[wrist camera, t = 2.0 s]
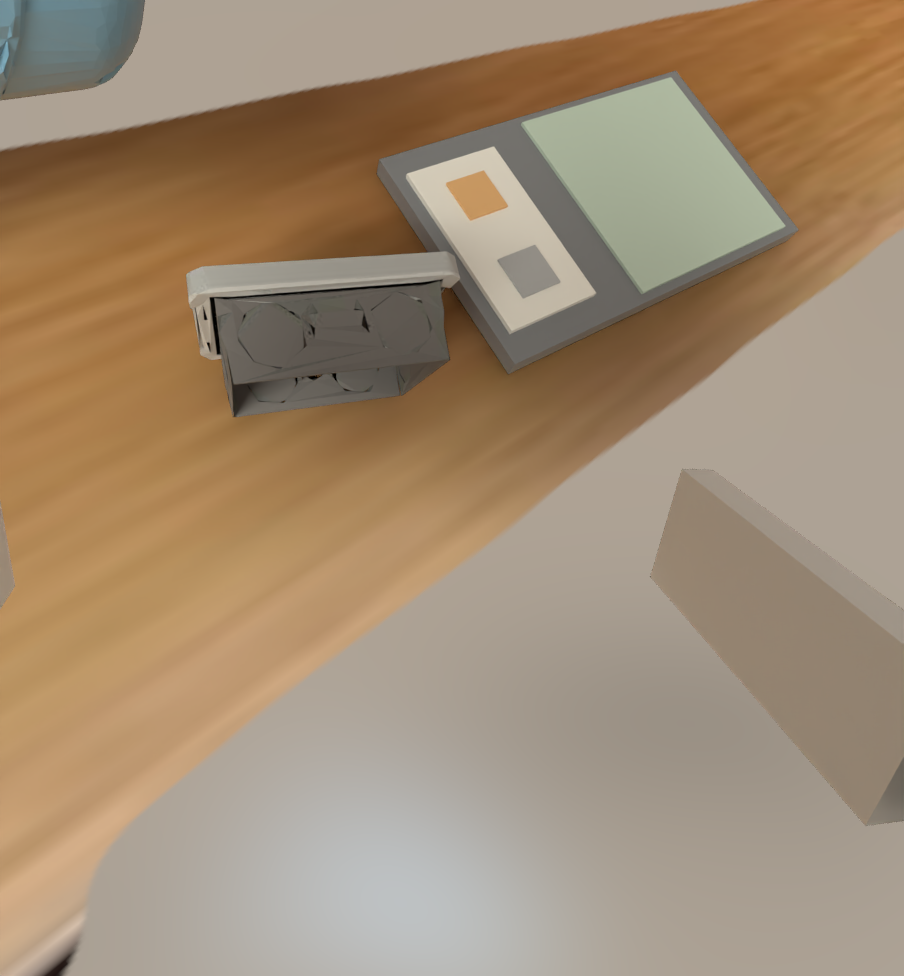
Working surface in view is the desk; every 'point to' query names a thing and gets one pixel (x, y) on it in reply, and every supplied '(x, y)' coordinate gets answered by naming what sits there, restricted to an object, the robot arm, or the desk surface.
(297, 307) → the electrical switch
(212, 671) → the desk surface
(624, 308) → the switch plate
